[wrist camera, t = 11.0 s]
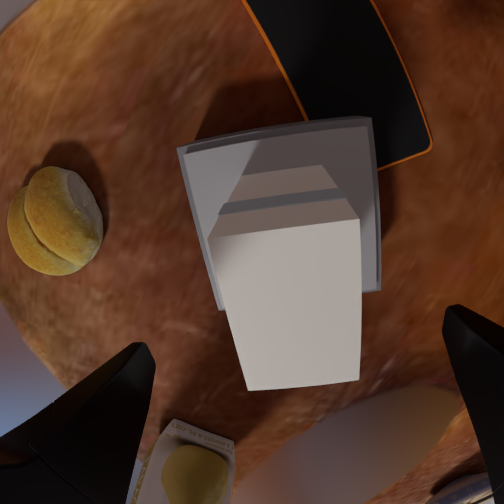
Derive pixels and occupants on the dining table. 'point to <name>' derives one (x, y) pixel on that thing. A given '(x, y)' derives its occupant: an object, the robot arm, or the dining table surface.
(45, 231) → the bread roll
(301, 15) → the smartphone
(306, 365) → the carton
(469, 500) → the ramen bowl
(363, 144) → the display podium
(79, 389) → the robot arm
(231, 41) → the dining table surface
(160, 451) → the juice carton
